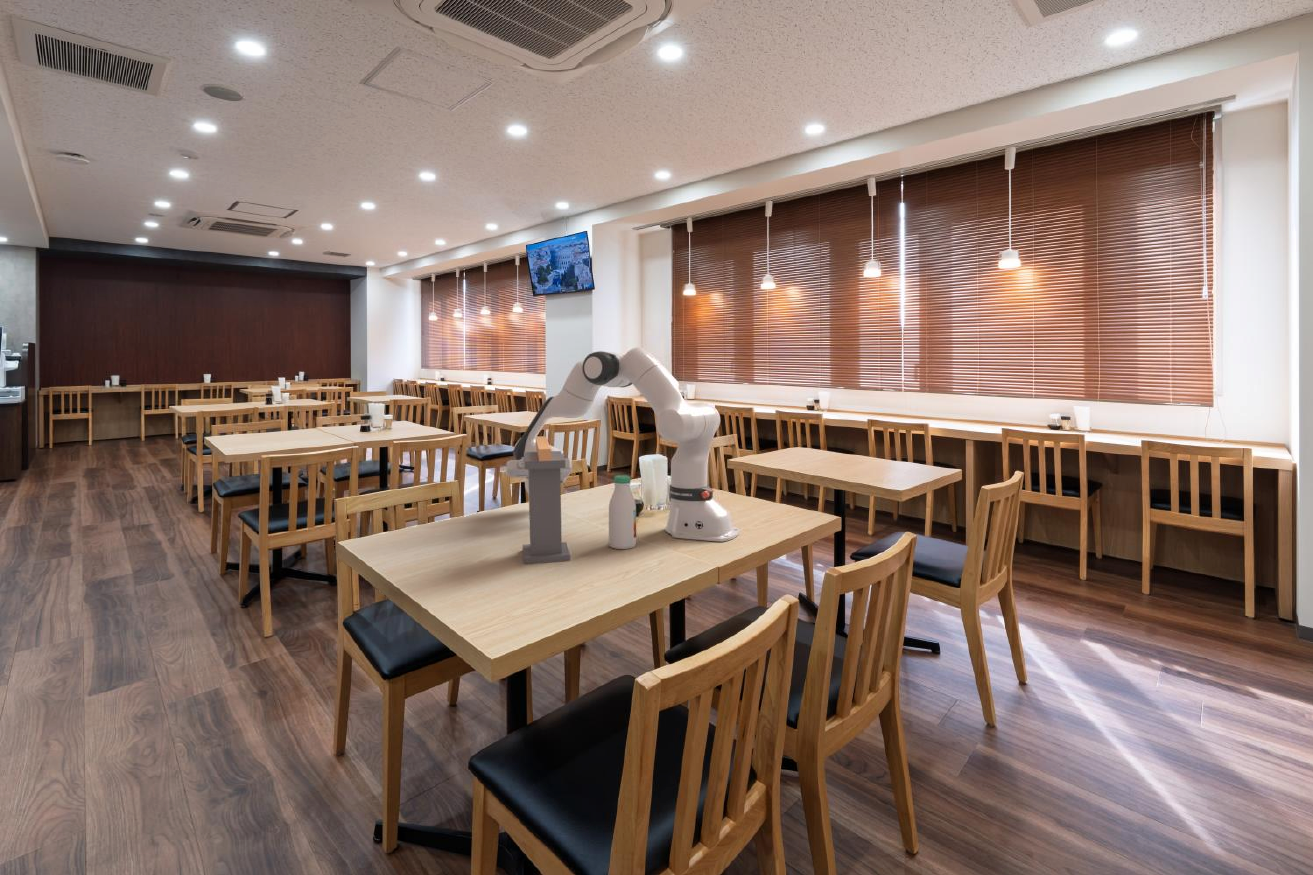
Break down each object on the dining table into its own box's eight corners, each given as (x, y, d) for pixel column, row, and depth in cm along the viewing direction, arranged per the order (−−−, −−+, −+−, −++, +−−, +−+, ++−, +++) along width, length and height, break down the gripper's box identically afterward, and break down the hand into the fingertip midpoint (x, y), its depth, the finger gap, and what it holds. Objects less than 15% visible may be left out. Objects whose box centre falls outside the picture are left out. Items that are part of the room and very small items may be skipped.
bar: (535, 446, 185) (535, 436, 185) (545, 446, 186) (545, 436, 186) (539, 461, 160) (538, 449, 160) (551, 460, 161) (551, 448, 160)
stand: (522, 547, 178) (520, 452, 175) (565, 545, 181) (564, 450, 177) (523, 566, 163) (520, 461, 159) (570, 562, 165) (569, 460, 162)
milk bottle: (630, 551, 175) (629, 479, 173) (604, 548, 178) (603, 477, 175) (640, 543, 183) (640, 474, 180) (615, 540, 185) (615, 473, 183)
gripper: (506, 466, 207) (504, 450, 194) (569, 463, 211) (572, 448, 198) (506, 484, 204) (505, 469, 192) (570, 482, 209) (573, 467, 196)
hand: (539, 458), depth 195 cm, fingers open, 8 cm apart
